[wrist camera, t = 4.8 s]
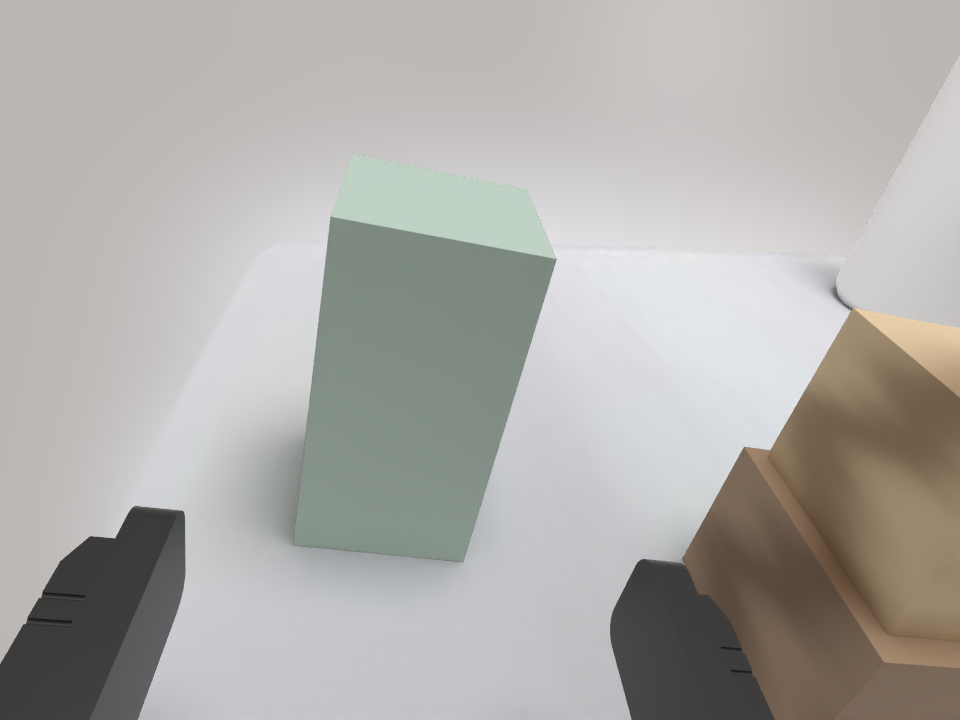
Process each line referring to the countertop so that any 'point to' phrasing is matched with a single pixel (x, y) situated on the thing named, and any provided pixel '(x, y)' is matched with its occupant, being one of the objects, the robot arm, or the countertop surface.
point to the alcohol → (915, 227)
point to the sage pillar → (416, 356)
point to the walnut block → (809, 612)
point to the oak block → (885, 467)
